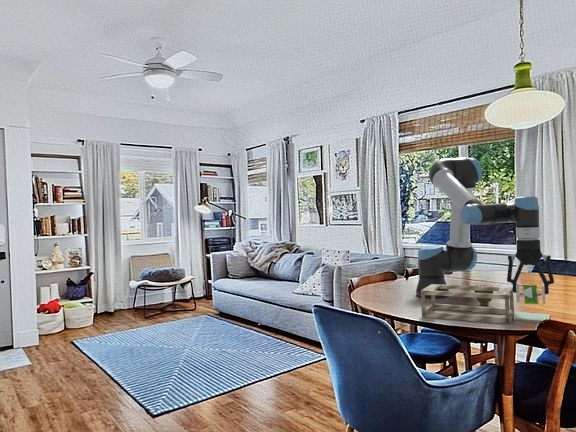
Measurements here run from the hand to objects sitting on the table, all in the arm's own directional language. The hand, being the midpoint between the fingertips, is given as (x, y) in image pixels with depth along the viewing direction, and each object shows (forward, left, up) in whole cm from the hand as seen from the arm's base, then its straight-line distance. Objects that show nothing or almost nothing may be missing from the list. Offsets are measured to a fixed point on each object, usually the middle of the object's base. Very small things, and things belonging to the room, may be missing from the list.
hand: (531, 302), depth 156 cm
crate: (-21, -4, -6) cm, 22 cm away
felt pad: (0, 0, -6) cm, 6 cm away
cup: (-18, +16, -6) cm, 25 cm away
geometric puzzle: (0, 0, -1) cm, 1 cm away
